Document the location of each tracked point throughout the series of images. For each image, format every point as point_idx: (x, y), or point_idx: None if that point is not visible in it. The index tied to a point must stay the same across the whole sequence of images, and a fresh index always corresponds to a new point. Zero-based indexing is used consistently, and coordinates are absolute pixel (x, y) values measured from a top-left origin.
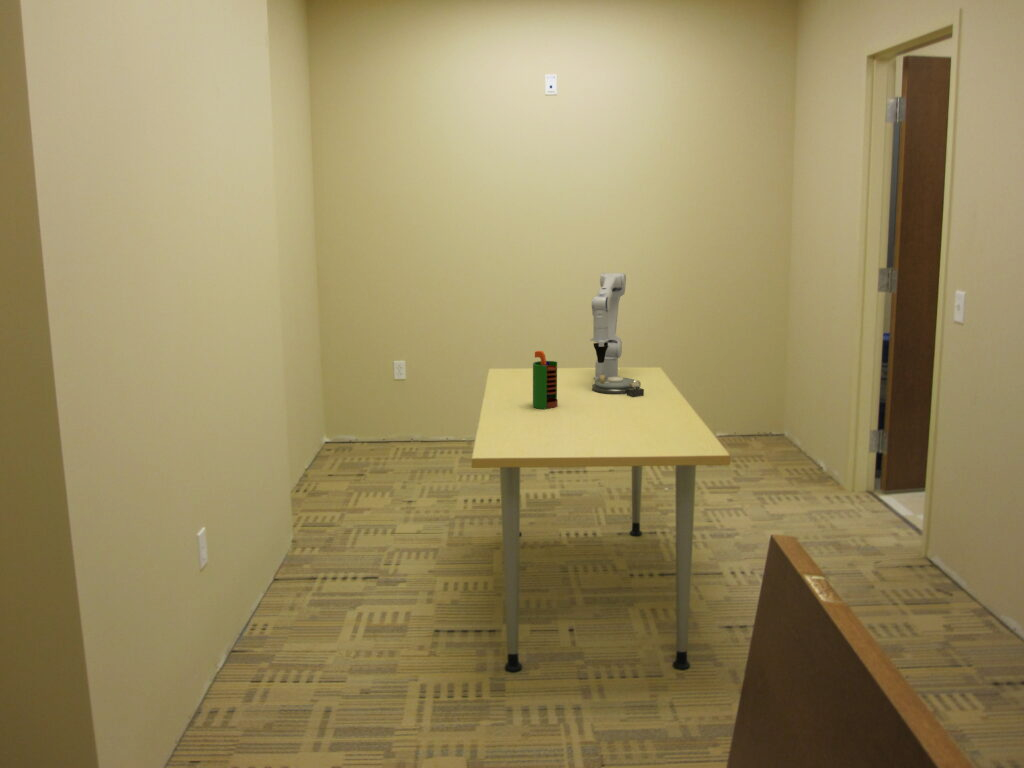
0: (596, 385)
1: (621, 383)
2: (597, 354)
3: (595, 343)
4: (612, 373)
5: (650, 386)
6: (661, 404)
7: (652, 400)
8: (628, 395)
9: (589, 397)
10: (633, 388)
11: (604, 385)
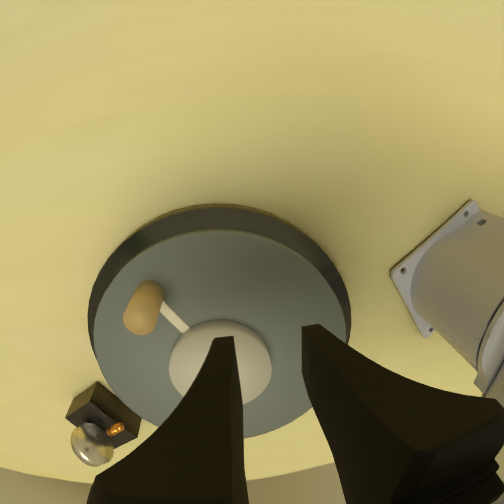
0: (147, 248)
1: (159, 391)
2: (181, 407)
3: (476, 453)
4: (430, 318)
5: (292, 442)
6: (27, 448)
7: (58, 440)
8: (89, 387)
9: (10, 217)
10: (82, 425)
11: (98, 307)
